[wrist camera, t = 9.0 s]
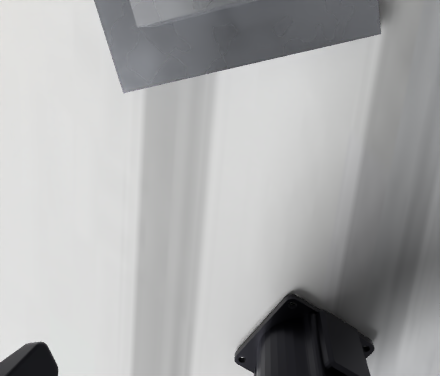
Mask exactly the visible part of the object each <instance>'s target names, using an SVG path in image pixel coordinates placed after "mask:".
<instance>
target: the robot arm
mask: <svg viewBox="0 0 440 376" xmlns="http://www.w3.org/2000/svg"><path fill="white" fill-rule="evenodd" d="M290 302H294V303H295V304H293V305H291V304H289V303H290ZM363 346H367V347H363ZM373 351H374V346H373V343H372V341H371V340H370V339H369V338H367V337H365V336H364V335H362V334H360V333H359V332H357V330H356V329H355V328H354V327H352V326H350V325H349V324H347V323H345V322H343V321H342V320H340V319H338V318H337V317H335V316H333V315H332V314H330V313H328V312H327V311H325V310H320V309H318V308H317V307H315V306H313V305H312V304H310V303H308V302H307V301H305V300H303V299H301V298H300V297H298V296H296V295H288V296H286V297H285V298H284V299H283V300H282V301H281V303H280V304H279V305H278V306H277V307H276V308H275V309H274V310H273V311H272V312H271V314H270V315H269V316H268V317H267V318H266V319H265V320H264V321H263V322H262V323H261V325H260V326H259V327H258V328H257V329H256V330H255V331H254V332H253V333H252V335H251V336H250V337H249V338H248V339H247V340H246V341H245V342H244V343H243V344H242V346H241V347H240V348H239V349H238V350H237V351H236V353H235V362H236V363H237V364H238V365H240V366H242V367H244V368H245V369H247V370H249V371H251V372H253V373H254V376H370V372H369V369H368V366H367V362H366V358H367V357H368V356H369V355H370V354H371V353H372V352H373ZM241 357H244V358H241ZM0 376H58V366H57V364H56V362H55V360H54V358H53V356H52V354H51V352H50V350H49V348H48V346H47V344H45V343H44V342H34V343H28V344H26V345H24V346H23V347H21V348H20V349H18V350H17V351H16V352H14V353H13V354H11V355H10V356H9V357H7V358H6V359H4V360H3V361H2V362H0Z"/></svg>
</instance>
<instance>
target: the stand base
mask: <svg viewBox="0 0 440 376" xmlns="http://www.w3.org/2000/svg"><path fill="white" fill-rule="evenodd" d="M94 2H95V5H96V8H97V11H98V14H99V17H100V21H101V24H102V27H103V30H104V33H105V36H106V40H107V43H108V46H109V49H110V52H111V55H112V59H113V62H114V65H115V68H116V71H117V74H118V78H119V81H120V84H121V87H122V90H123V93H126V92H130V91H135V90H139V89H143V88H148V87H152V86H156V85H161V84H165V83H169V82H174V81H178V80H182V79H187V78H191V77H196V76H200V75H204V74H209V73H213V72H217V71H222V70H226V69H230V68H235V67H239V66H243V65H248V64H252V63H256V62H261V61H265V60H270V59H274V58H278V57H283V56H287V55H291V54H296V53H300V52H304V51H309V50H313V49H317V48H322V47H326V46H331V45H335V44H339V43H344V42H348V41H352V40H357V39H361V38H365V37H370V36H374V35H378V34H381V29H380V15H379V2H378V0H94Z"/></svg>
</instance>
